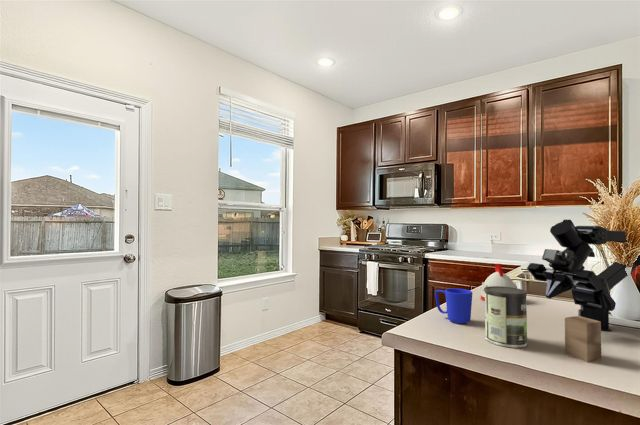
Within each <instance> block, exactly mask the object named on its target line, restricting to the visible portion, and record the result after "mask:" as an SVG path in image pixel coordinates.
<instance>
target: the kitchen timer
mask: <svg viewBox="0 0 640 425" xmlns="http://www.w3.org/2000/svg"><path fill="white" fill-rule="evenodd" d="M494 269H495V270H494V271H495V272H493V273H492V274H490V275H489V276H487V278H486V279H485V281H482V282H481V289H480V300H481V301H483V302H485V291H484V288H485V287H490V286H502V287H512V288H518V286H517V285H516V283H514V282H513V280H512V279H511V278H510V276H508V275H507V274H506V273H504V270H503V267H502V265H501V264H499V263H495V266H494Z"/></svg>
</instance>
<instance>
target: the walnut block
mask: <svg viewBox="0 0 640 425" xmlns="http://www.w3.org/2000/svg"><path fill="white" fill-rule="evenodd" d="M564 351H565V353H564V354H565V355H567V356H570V357H573V358H575V359H577V360H581V361H583V362H586V363H591V362H595V361H599V360H602V330H601V322H600V321H597V320H593V319H589V318H585V317H581V316H578V315H575V316H568V317H564Z"/></svg>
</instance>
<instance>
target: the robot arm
mask: <svg viewBox="0 0 640 425" xmlns="http://www.w3.org/2000/svg"><path fill="white" fill-rule="evenodd" d="M549 231H550V232H549V233H551V235H552V237H554V239H555V241H557V243H558V244H559V246H560V247H562V248H565V249H564V250H559V249H548V248H546V249H544V251H543V255H542V258H541V260H542V261H546V262H548V263H549V264H548V266H549V267H546V265H544V264H542V263H538V262H537V263H536V262H529V264H528V265H527V267H526V270H527V271H528V272H529V273H530V274H531V276H532V277H533V278H534V279H535V280H536V281H539V282H540V281H541V282H546V288H545V297H546V299H552V298H555V297H556V296H558V295H560V294H563V293H565V292H569V291H571V294H572V299H573V302H574V305H578V306H580V309H578V310H577V311H578V312H577V313H578V314H577V316H581V317H585V318H589V319H593V320H597V321H600V322H601V331H606V332H607V331H609V332H611V331H612V328H610V323H609V322H610V321H609V320H610V319H609V318H610V316H609V315H610V314H609V312H613V311H614V310H615V308H616V302H615V300H614V298H613V297H612V296H611V290H612V289H613V288H614V287H615V286H617V285H618V284H619V283H621V281H623V280H624V279H625V278H627V277H628V276H629V275H627V273H626V271H625V268H626V265H623V264H619V263H617V262H616V261H614V262H613V263H612V264H611V265H609V266H608V267H606V268H605V269H604V270H602V271H601V272H600V273H598V274H596V273H595V271H594V270H587V269H585V268H586V267H585V266H584V264H585V262H586V261H587V259H588V258H595V257H596V254H595V252H594V250H593V247H591V246H590V245H593V246H596V245H597V246H600V245H605V244H607V243H608V242H612V243H617V242H627V240H626V235H625V232H624V231H625V230H611V229H610V230H609V229H607V228H606V227H603V226H599V225H576V226H575V224H574V222H573V220H572V219H563V220H562V221H560V222H558V223H556V224H554V225H552V226H551V227H550V230H549ZM638 265H640V255H639V256H638V258H637V260H636V261H635V262H634V263H633V267H632V272H631V273H633V272H634V271H635V270H636V269H635V268H636V266H638Z"/></svg>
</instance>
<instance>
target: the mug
mask: <svg viewBox="0 0 640 425" xmlns="http://www.w3.org/2000/svg"><path fill="white" fill-rule="evenodd" d="M439 293H443V294H444V296H445V304H446V311H445V310H443V309H442V307H441V306H440V300H439ZM434 295H435V303H436V308H437V310H438V311H439V313H441V314H447V318H448V320H449V321H450V322H452V323H455V324H461V325H463V324H468V323H470V321H471V319H472V306H473V302H472V301H473V291H472V290H470V289H464V288H455V287H453V288H451V287H450V288H446V289H445V290H442V289H436V290H435V293H434Z"/></svg>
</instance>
